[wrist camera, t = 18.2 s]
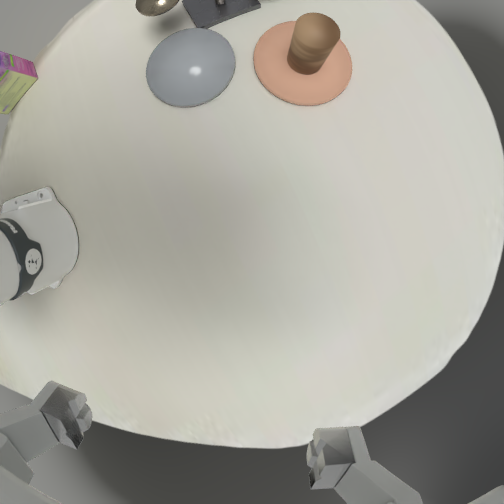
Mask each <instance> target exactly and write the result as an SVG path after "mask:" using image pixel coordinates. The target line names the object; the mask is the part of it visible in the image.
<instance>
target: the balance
mask: <svg viewBox="0 0 504 504" xmlns="http://www.w3.org/2000/svg"><path fill="white" fill-rule="evenodd" d="M178 2H179V0H136V8H137V10H138V11H139V12H140V13H141V14H142V15H145V16H157V15H161V14H163V13H165V12H167V11H169V10H170V9H172V8H173V7H174V6H175V5H176V4H177V3H178ZM182 3H183V5H184V6H185V8H186V9H187V11H188V13H189V14H190V16H191V18H192V19H193V21H194V22H195V24H196V26H197V27H198V28H203V29H207V28H209V27H211V26H214V25H216V24H218V23H221V22H223V21H226V20H228V19H231V18H233V17H236V16H238V15H241V14H244V13H247V12H249V11H252V10H255V9H258V8H261V4H260V3H259V1H258V0H183V1H182Z"/></svg>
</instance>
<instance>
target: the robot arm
mask: <svg viewBox="0 0 504 504" xmlns="http://www.w3.org/2000/svg"><path fill="white" fill-rule="evenodd" d="M42 194H43V196H42ZM77 256H78V236H77V231H76V228H75V225H74V222H73V220H72V218H71V216H70V215H69V213H68V212H67V210H66V209H65V208H64V207H63V206H62V205H61V204H60V203H59V202H58V201H57V199H56V197H55V195H54V193H53V191H52V189H51V188H50V187H45V188H42V189H39V190H36V191H33V192H30V193H27V194H24V195H21V196H18V197H16V198H13V199H10V200H8V201H5V202H4V203H3V206H2V211H1V214H0V306H1V305H2V304H4V303H5V302H7V301H8V300H14V299H16V298H19V297H21V296H22V295H24V294H25V293H29V294H30V295H32V294H35V293H37V292H38V291H40V290H42V289H44V288H46V287H48V286H49V287H51V288H53V289H55V288H57V287H59V286H60V284H61V281H62V279H63V277H64V276H65V275H66V274H68V273H69V272H70V271H71V270H72V269H73V267H74V265H75V263H76V260H77ZM86 401H87V399H86V396H85V394H84V393H81V392H78V391H76V390H73V389H71V388H68V387H66V386H63V385H61V384H59V383H56V382H54V381H50V382H48V383H47V384H46V385H45V387H44V388H43V389H42V390H41V391H40V393H39V394H38V395H37V396H36V398H35V399H34V400H33V402H32V403H31V404H30V405H23V406H21V407H18V408H15V409H13V410H10V411H7V412H4V413H2V414H0V504H62V503H61V502H58V501H57V500H54V499H53V498H51V497H49V496H47V495H46V494H44V493H42V492H40V491H39V490H37V489H35V488H34V487H32V486H30V485H29V483H30V481H31V479H32V477H33V475H34V471H33V470H32V468H31V467H30V466H29V465H28V464H27V462H28V461H30V460H32V459H34V458H35V457H37V456H39V455H41V454H42V453H44V452H46V451H47V450H49V449H51V448H52V447H54V446H56V445H57V444H59V442H60V443H62V444H65V445H67V446H69V447H72V448H74V449H78V447H79V445H80V443H81V442H82V440H83V433H82V432H84V431H86V430H88V429H89V427H90V425H91V422H92V411H91V409H90V407H89V406H88V405H87V404H86ZM313 438H314V439H313V440H312V441H310V443H309V445H308V449H307V464H308V465H309V467H311V468H312V470H311V471H310V473H309V479H310V488H311V489H325V488H334V489H335V491H336V492H337V493H338V494H339V495H340V496H341V497H342V498H343V499H344V500H345V501H346V502H347V504H423V503H422V500H421V497H420V494H419V493H418V492H417V491H415V490H414V489H412V488H411V487H409V486H408V485H407V484H405V483H404V482H402V481H401V480H400V479H398V478H397V477H396V476H394V475H393V474H392V473H390V472H389V471H388V470H386V469H385V468H384V467H383V466H381V465H380V464H379V463H377V462H376V461H371V459H370V456H369V453H368V450H367V447H366V444H365V441H364V438H363V435H362V431H361V429H360V427H359V426H352V427H335V428H317V429H316V430H315V431H314V433H313ZM468 504H504V485H502V486H499V487H497V488H495V489H493V490H492V491H490V492H488V493H487V494H485V495H483V496H481V497H480V498H478V499H476V500H474V501H472V502H470V503H468Z"/></svg>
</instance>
